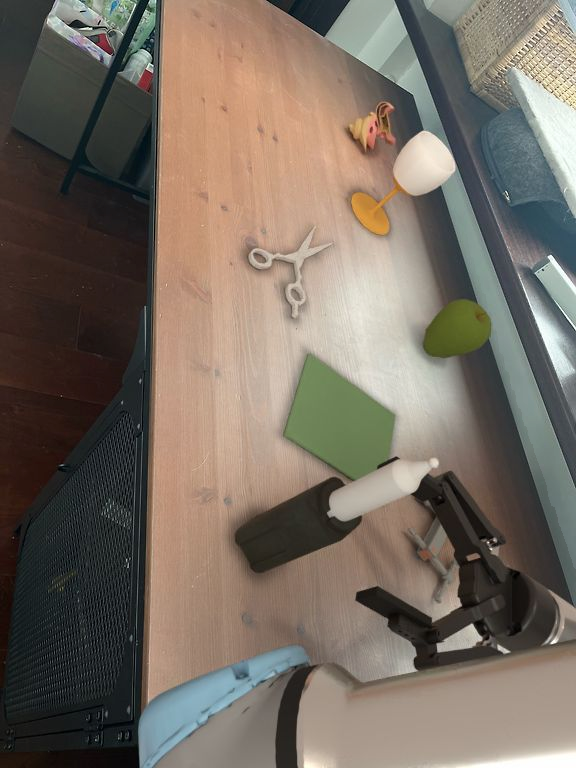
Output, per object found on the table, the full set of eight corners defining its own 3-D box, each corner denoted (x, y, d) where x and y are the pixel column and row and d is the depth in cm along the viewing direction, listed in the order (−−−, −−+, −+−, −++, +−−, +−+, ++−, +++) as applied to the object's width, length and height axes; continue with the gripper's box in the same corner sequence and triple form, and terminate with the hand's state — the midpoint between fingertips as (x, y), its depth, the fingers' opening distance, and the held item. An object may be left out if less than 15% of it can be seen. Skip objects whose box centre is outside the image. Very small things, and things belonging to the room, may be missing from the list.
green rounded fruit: (441, 334, 106) (496, 299, 98) (450, 377, 102) (509, 343, 94) (405, 319, 101) (460, 281, 93) (414, 363, 97) (471, 327, 89)
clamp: (438, 470, 85) (482, 526, 86) (426, 476, 87) (470, 530, 87) (395, 541, 74) (447, 604, 75) (383, 545, 76) (433, 607, 76)
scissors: (242, 258, 82) (304, 205, 97) (239, 262, 83) (301, 208, 97) (296, 316, 84) (350, 255, 98) (293, 319, 84) (346, 258, 99)
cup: (396, 230, 113) (464, 172, 102) (371, 239, 106) (442, 177, 95) (368, 190, 113) (433, 127, 102) (342, 196, 107) (409, 129, 96)
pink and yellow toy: (344, 149, 116) (354, 94, 113) (345, 153, 125) (355, 103, 123) (393, 157, 115) (404, 102, 112) (390, 161, 125) (400, 110, 122)
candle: (230, 534, 64) (403, 445, 46) (262, 511, 67) (434, 421, 50) (256, 577, 63) (441, 504, 46) (287, 552, 67) (469, 475, 50)
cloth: (380, 498, 79) (383, 497, 79) (283, 435, 74) (285, 434, 74) (393, 415, 88) (395, 414, 88) (307, 354, 83) (309, 352, 83)
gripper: (496, 754, 58) (325, 666, 51) (498, 524, 74) (369, 433, 68) (568, 752, 53) (388, 654, 46) (553, 505, 69) (419, 405, 62)
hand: (376, 523), depth 57 cm, fingers open, 13 cm apart
